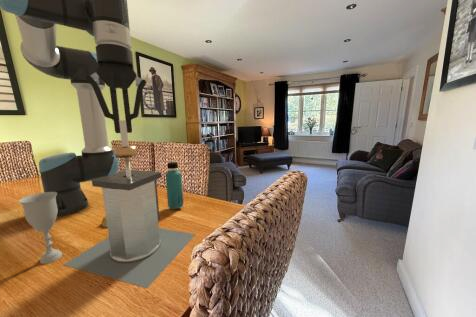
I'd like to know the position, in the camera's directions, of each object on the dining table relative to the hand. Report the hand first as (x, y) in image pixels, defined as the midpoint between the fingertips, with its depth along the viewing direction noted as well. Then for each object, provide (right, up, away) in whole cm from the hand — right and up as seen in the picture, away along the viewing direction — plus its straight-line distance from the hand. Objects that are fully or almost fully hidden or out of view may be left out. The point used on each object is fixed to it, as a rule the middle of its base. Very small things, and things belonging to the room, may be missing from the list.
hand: (125, 145), depth 53 cm
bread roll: (-16, -27, +22) cm, 38 cm away
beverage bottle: (+3, -25, +33) cm, 41 cm away
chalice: (-21, -31, +2) cm, 37 cm away
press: (+1, -29, +7) cm, 30 cm away
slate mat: (0, -30, +6) cm, 30 cm away
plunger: (0, -23, +4) cm, 23 cm away
